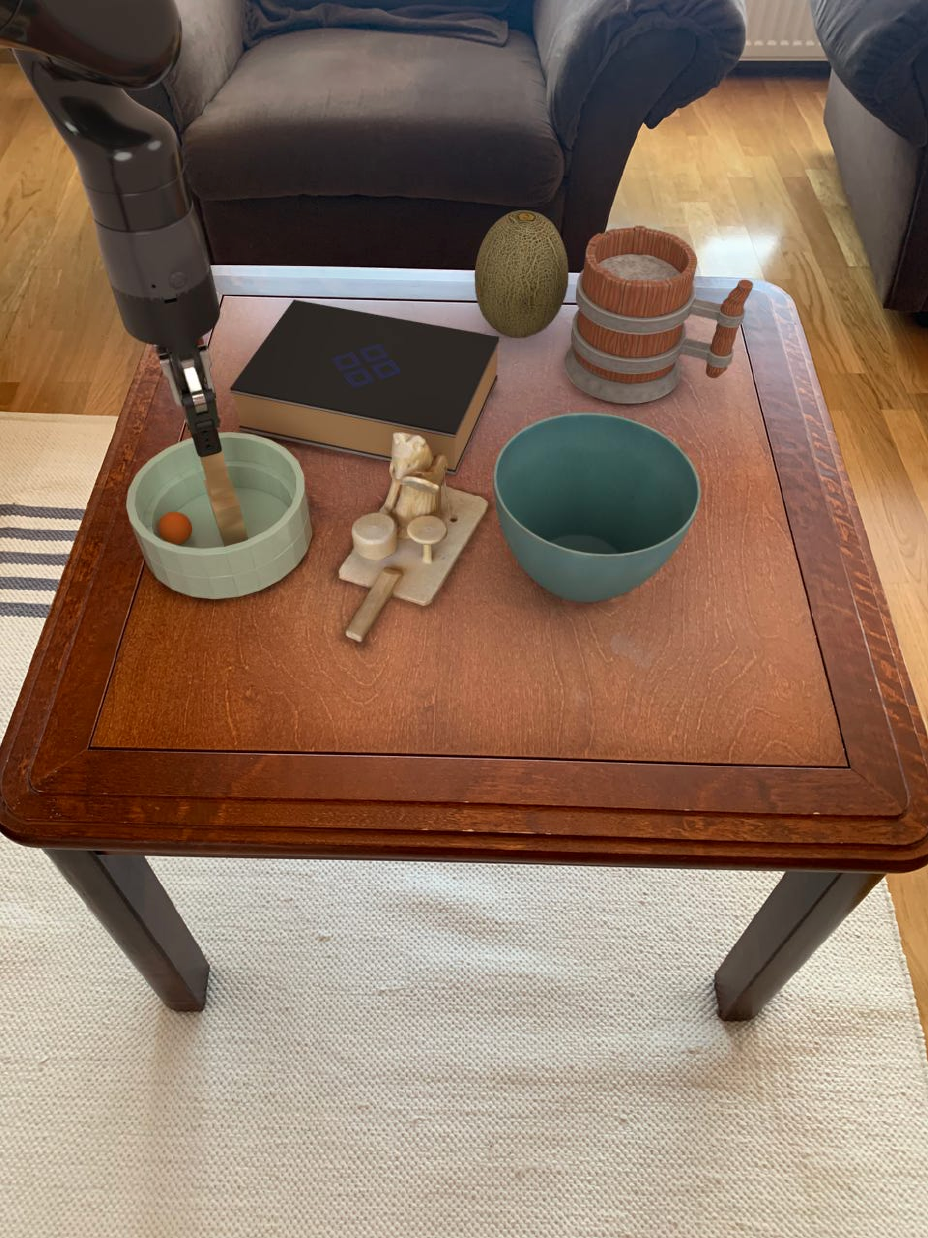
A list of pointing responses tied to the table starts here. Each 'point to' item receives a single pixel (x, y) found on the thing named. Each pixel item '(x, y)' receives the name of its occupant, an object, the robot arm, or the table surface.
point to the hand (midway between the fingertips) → (206, 443)
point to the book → (366, 382)
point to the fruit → (521, 274)
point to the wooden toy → (409, 533)
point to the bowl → (202, 562)
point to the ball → (175, 528)
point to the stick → (223, 500)
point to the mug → (643, 317)
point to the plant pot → (593, 503)
